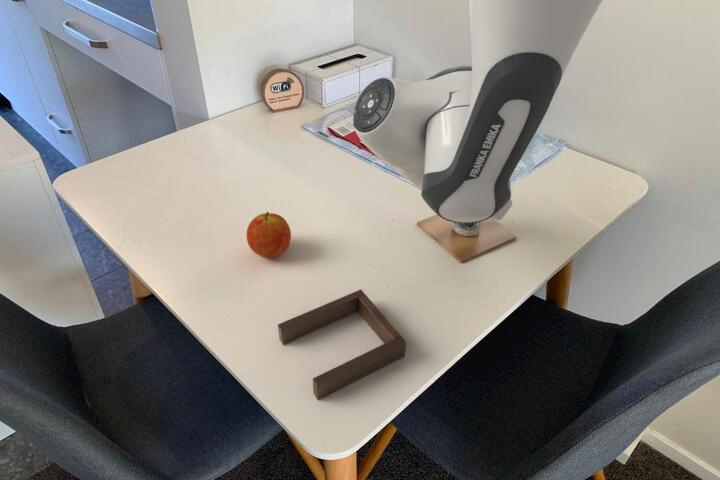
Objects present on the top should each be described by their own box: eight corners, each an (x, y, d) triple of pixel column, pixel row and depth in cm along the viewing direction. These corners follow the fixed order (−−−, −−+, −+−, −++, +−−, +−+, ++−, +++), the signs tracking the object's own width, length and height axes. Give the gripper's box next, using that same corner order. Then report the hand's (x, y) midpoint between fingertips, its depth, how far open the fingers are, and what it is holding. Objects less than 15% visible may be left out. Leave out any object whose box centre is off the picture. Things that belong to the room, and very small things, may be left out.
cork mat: (515, 239, 88) (516, 236, 88) (461, 263, 84) (461, 260, 83) (469, 204, 96) (469, 201, 96) (416, 224, 91) (417, 221, 91)
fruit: (269, 272, 81) (264, 232, 76) (240, 253, 85) (233, 214, 80) (301, 250, 85) (298, 211, 80) (272, 233, 89) (267, 194, 84)
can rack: (405, 356, 69) (406, 341, 67) (317, 400, 64) (316, 385, 62) (360, 303, 76) (361, 289, 74) (279, 339, 71) (277, 324, 69)
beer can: (449, 234, 88) (458, 173, 81) (455, 218, 92) (464, 159, 84) (477, 240, 87) (489, 179, 80) (482, 224, 91) (494, 164, 83)
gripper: (501, 171, 67) (534, 208, 78) (399, 114, 80) (439, 153, 90) (471, 211, 68) (508, 242, 78) (375, 149, 81) (418, 183, 91)
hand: (470, 194), depth 85 cm, fingers open, 8 cm apart
